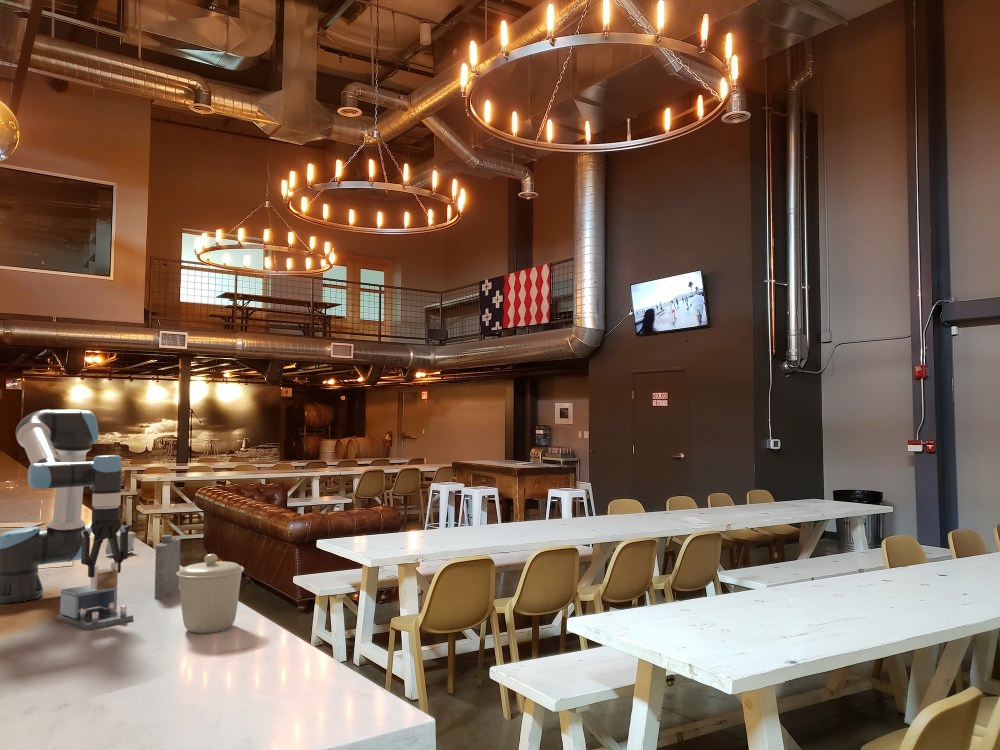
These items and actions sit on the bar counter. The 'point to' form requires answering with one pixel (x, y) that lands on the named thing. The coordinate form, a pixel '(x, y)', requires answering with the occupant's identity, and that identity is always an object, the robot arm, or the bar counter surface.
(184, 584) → the canister
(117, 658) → the bar counter surface
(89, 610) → the housing base
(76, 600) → the housing cover
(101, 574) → the light brown cube
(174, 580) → the hip flask
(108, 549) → the incense holder
